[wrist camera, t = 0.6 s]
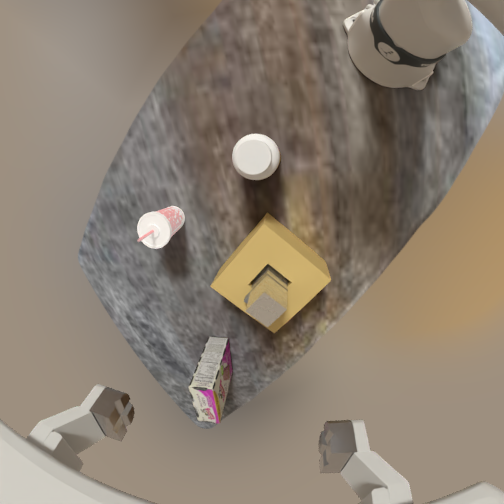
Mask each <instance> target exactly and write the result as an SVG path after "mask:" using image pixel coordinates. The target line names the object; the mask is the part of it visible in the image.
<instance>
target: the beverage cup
mask: <svg viewBox="0 0 504 504" xmlns="http://www.w3.org/2000/svg"><path fill="white" fill-rule="evenodd" d="M184 222H185V216H184V213H183V211H182V210H181V209H180V208H178V207H176V206H171V207H167V208H165V209H162V210H159V211H156V212H150V213H147V214H144V215H143V216H142V217H141V218H140V220H139V222H138V225H137V232H138V235H139V239H137V241H138V242H140V241H142V242H143V243H144V244H145V245H146V246H148V247H150V248H154V249H158V248H162V247H163V246H164V245H166V244H167V243H168V242H169V240H170V238H171V237H172V236H173V235H174V234H175V233H176V232H177V231H178V230H179V229H180V228H181V227H182V226H183V224H184Z"/></svg>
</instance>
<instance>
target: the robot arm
mask: <svg viewBox="0 0 504 504" xmlns="http://www.w3.org/2000/svg"><path fill="white" fill-rule="evenodd" d="M468 1H469V2H470V3H471V4H472V5H473V6H474V7H475V8H477V9H478V10H479V11H480V12H481V13H482V14H483V15H484V16H485V17H486V18H487V19H488V20H489V21H490V22H491V23H492V24H493V25H494V26H495V27H496V28H497V29H498V30H499V31H500V33H501V34H502V35H503V36H504V0H468ZM374 4H375V5H371V4H369V5H367V6H366V9H364V10H362V11H360V12H358V13H356V14H354V15H352V16H351V17H349V18H347V19H345V20H344V22H343V26H344V29H345V31H346V33H347V35H348V50H349V54H350V56H351V59H352V60H353V62H354V64H355V65H356V67H357V68H358V69H359V70H360V71H361V72H362V73H363V74H364V75H365V76H366V77H367V78H369V79H370V80H372V81H374V82H375V83H377V84H380V85H382V86H385V87H390V88H401V87H409V88H412V89H415V90H422V89H424V88H425V86H426V84H427V82H428V79H429V77H430V75H432V74H433V69H434V67H435V64H436V63H437V62H439V61H440V60H441V59H442V58H443V57H444V56H445V55H446V53H448V52H450V51H451V50H453V49H455V48H457V47H459V46H461V45H463V44H465V43H466V42H467V41H468V39H469V38H470V36H471V33H472V19H471V15H470V11H469V8H468V6H467V4H466V2H465V0H375V1H374ZM353 21H354V22H353ZM129 400H130V397H129V395H128V394H127V393H124V392H120V391H118V390H114V389H112V388H109V387H106V386H103V385H100V384H97V385H95V387H94V388H93V389H92V391H91V392H90V393H89V395H88V396H87V397H86V399H85V400H84V402H83V403H82V404H81V406H80V407H79V406H76V407H74V408H71V409H69V410H66V411H64V412H62V413H59V414H57V415H54V416H52V417H50V418H47V419H44V420H42V421H39V423H38V424H37V425H36V427H35V428H34V429H33V430H32V432H31V433H30V435H29V436H28V437H27V439H25V438H24V437H23V436H21V435H20V434H19V433H17V432H16V431H15V430H13V429H12V428H11V427H10V426H8V425H7V424H6V423H4V422H3V421H2V420H1V419H0V504H157V503H154V502H151V501H148V500H145V499H142V498H139V497H136V496H133V495H131V494H128V493H125V492H123V491H120V490H118V489H115V488H113V487H111V486H108V485H106V484H104V483H102V482H99V481H97V480H95V479H93V478H91V477H89V476H87V475H85V474H83V473H81V472H79V471H80V469H81V468H82V465H83V462H82V461H81V459H80V458H79V457H78V456H77V454H78V453H80V452H82V451H83V450H85V449H87V448H88V447H90V446H92V445H93V444H94V443H96V442H98V441H100V440H101V439H103V438H104V437H105V436H107V437H110V438H113V439H116V440H118V441H122V439H123V438H124V436H125V434H126V432H127V429H126V426H128V425H130V424H131V423H132V421H133V418H134V407H133V405H132V404H131V403H130V402H129ZM319 452H320V453H321V454H322V456H321V458H320V460H319V462H320V473H339V472H340V474H341V475H342V477H343V478H344V479H345V480H346V482H347V483H348V484H349V485H350V487H351V488H352V489H353V490H354V491H355V493H356V494H357V495H358V497H359V498H360V499H361V500H362V501H361V502H360V503H359V504H413V500H412V495H411V490H410V486H409V482H408V481H407V480H406V479H405V478H404V477H403V476H401V475H400V474H399V473H398V472H397V471H396V470H395V469H393V468H392V467H391V466H390V465H389V464H388V463H387V462H386V461H385V460H383V459H382V458H381V457H380V456H379V455H378V454H377V453H376V452H375V451H370V446H369V441H368V436H367V432H366V427H365V423H364V421H363V420H342V421H327V422H325V425H324V431H322V432H321V435H320V440H319ZM425 504H504V492H503V491H502V490H500V489H499V488H497V487H495V486H493V485H492V484H490V483H488V482H486V481H481V482H478V483H476V484H473V485H471V486H469V487H467V488H464V489H462V490H460V491H457V492H455V493H452V494H450V495H447V496H444V497H442V498H439V499H436V500H433V501H430V502H427V503H425Z"/></svg>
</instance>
